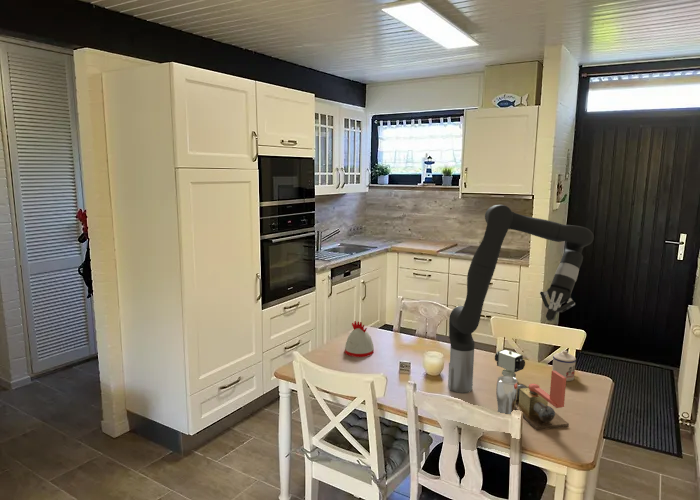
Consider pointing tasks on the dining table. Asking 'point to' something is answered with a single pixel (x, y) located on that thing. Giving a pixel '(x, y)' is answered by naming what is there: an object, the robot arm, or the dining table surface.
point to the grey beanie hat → (359, 342)
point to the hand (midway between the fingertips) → (549, 320)
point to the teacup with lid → (564, 364)
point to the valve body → (537, 410)
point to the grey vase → (506, 394)
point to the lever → (553, 390)
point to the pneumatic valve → (509, 362)
